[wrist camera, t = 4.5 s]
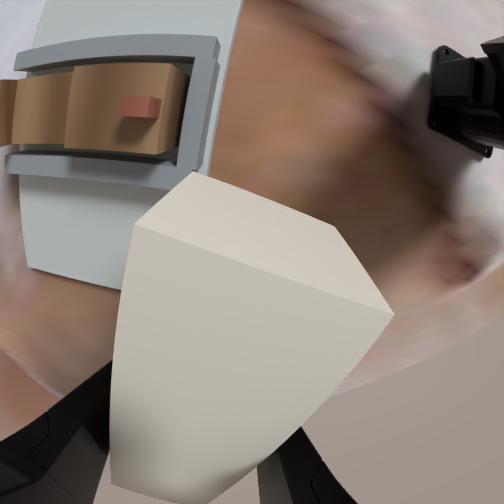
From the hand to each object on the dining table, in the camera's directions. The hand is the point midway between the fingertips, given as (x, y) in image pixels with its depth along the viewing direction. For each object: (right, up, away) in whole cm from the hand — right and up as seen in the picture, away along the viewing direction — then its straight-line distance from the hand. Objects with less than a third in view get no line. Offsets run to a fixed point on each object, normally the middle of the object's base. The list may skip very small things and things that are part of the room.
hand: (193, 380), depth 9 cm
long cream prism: (0, 0, +1) cm, 1 cm away
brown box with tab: (-8, +13, +5) cm, 16 cm away
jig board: (-7, +12, +6) cm, 16 cm away
